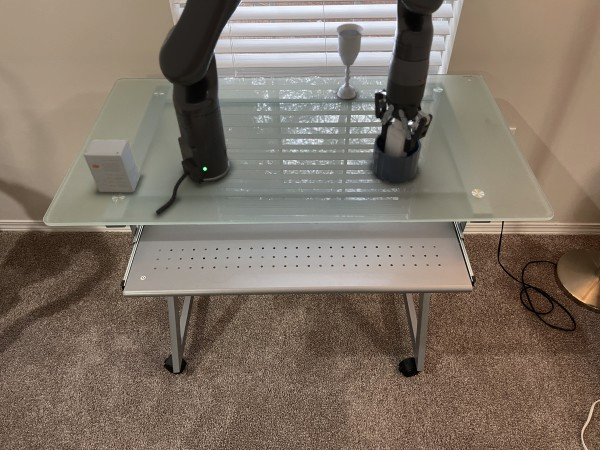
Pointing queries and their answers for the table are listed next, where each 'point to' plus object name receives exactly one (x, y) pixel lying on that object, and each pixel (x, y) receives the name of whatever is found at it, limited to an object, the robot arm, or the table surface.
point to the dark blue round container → (394, 163)
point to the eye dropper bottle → (395, 140)
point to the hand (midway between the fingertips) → (396, 143)
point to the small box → (112, 165)
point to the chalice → (348, 53)
